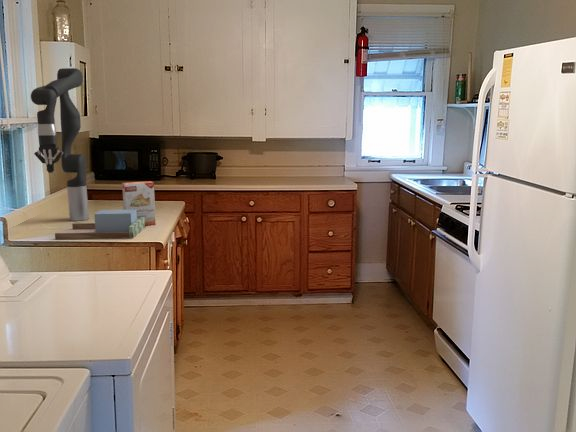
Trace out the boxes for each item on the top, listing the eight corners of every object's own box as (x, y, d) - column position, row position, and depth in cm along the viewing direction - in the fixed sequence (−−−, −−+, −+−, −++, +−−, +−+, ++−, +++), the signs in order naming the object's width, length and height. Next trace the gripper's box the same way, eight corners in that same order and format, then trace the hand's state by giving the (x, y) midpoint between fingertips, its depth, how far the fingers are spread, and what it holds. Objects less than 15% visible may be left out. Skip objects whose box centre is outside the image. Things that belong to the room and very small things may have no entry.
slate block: (102, 231, 256) (101, 209, 255) (137, 230, 257) (136, 209, 255) (95, 236, 247) (94, 213, 245) (132, 235, 247) (130, 213, 245)
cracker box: (126, 227, 263) (124, 183, 259) (124, 225, 268) (121, 182, 264) (156, 224, 269) (154, 181, 265) (153, 222, 274) (150, 180, 270)
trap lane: (73, 228, 262) (72, 218, 261) (144, 227, 263) (144, 217, 262) (55, 239, 240) (54, 228, 239) (133, 238, 241) (132, 226, 240)
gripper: (65, 133, 254) (68, 171, 258) (36, 134, 254) (39, 171, 257) (58, 134, 247) (62, 173, 250) (28, 134, 247) (32, 173, 250)
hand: (50, 172), depth 254 cm, fingers closed
